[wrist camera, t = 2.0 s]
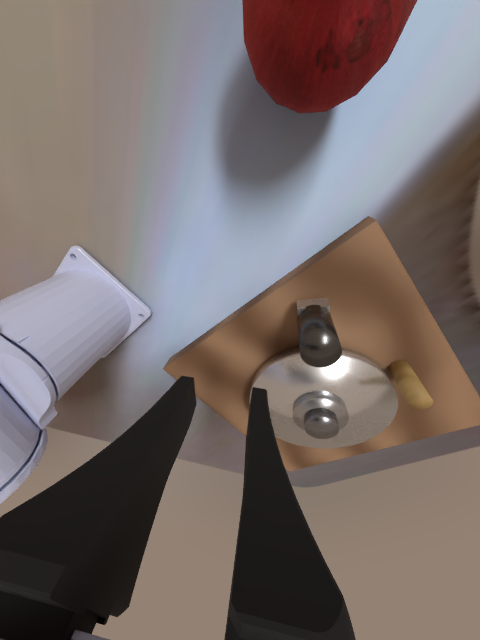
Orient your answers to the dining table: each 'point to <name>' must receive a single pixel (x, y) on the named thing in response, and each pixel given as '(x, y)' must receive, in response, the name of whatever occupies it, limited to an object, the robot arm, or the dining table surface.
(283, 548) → the robot arm
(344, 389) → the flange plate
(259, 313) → the base board
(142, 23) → the dining table surface
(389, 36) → the red oval fruit
